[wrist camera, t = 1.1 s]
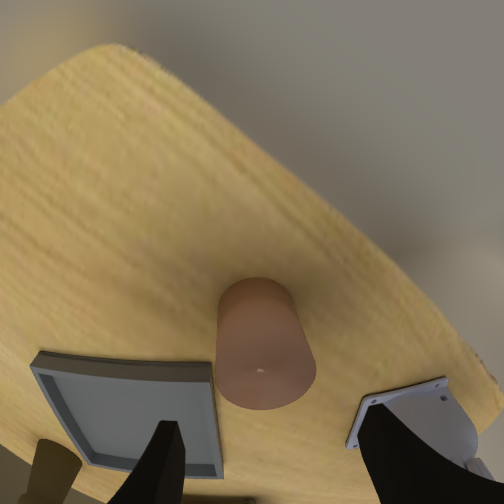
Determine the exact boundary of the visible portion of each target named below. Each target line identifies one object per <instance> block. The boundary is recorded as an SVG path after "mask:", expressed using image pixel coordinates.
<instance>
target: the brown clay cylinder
mask: <svg viewBox="0 0 504 504" xmlns="http://www.w3.org/2000/svg"><path fill="white" fill-rule="evenodd" d="M315 375H316V364H315V360H314V358H313V355H312V352H311V350H310V347H309V344H308V342H307V339H306V336H305V334H304V331H303V329H302V326H301V323H300V321H299V318H298V316H297V313H296V310H295V308H294V305H293V303H292V300H291V297H290V295H289V293H288V292H287V291H286V289H285V288H284V287H283V286H281V285H280V284H279V283H277V282H275V281H273V280H270V279H266V278H257V277H256V278H248V279H244V280H241V281H239V282H237V283H235V284H233V285H232V286H231V287H229V288H228V289H227V290H226V291H225V293H224V294H223V295H222V297H221V299H220V302H219V306H218V319H217V342H216V368H215V381H216V385H217V388H218V390H219V392H220V393H221V394H222V395H223V397H224V398H226V399H227V400H228V401H230V402H231V403H233V404H235V405H237V406H240V407H243V408H247V409H252V410H268V409H275V408H279V407H282V406H285V405H288V404H290V403H292V402H294V401H295V400H297V399H299V398H300V397H301V396H302V395H304V394H305V393H306V392H307V390H308V389H309V388H310V387H311V385H312V383H313V381H314V379H315Z"/></svg>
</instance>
